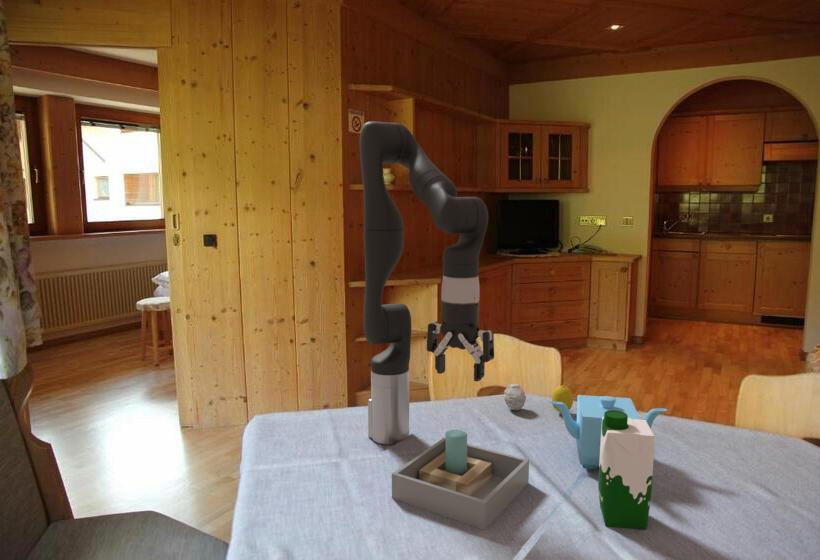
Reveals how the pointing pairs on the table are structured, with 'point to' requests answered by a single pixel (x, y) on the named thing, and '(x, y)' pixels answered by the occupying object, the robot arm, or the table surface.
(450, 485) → the bore block
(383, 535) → the table surface
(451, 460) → the peg
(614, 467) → the milk carton
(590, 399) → the teakettle
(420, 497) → the open box
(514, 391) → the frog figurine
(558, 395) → the lemon
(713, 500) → the table surface
